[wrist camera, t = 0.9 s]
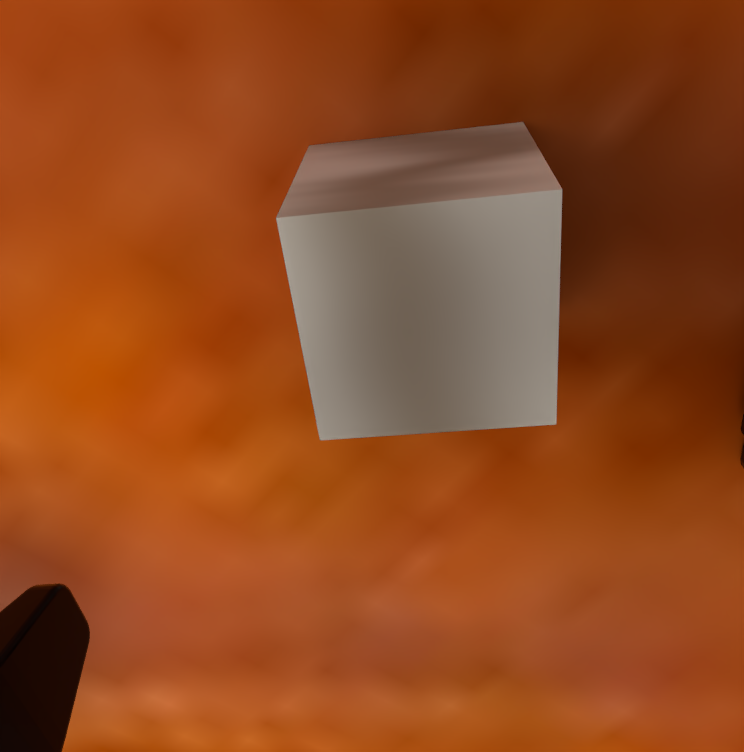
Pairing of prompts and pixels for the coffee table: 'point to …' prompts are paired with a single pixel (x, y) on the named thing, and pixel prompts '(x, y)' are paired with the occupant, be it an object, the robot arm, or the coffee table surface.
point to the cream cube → (426, 281)
